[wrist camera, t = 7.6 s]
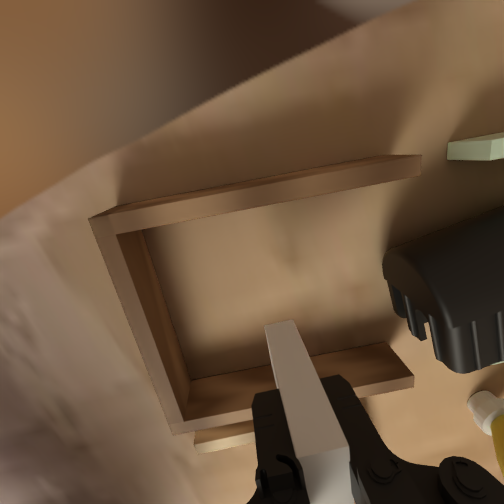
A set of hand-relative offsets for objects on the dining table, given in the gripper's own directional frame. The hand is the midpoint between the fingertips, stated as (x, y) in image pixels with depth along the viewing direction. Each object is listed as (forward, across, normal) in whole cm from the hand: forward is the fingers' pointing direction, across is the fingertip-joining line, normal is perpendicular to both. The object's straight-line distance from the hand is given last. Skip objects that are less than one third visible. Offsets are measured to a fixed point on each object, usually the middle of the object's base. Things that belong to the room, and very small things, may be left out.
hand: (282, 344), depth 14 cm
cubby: (+5, +1, 0) cm, 5 cm away
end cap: (+5, +13, 0) cm, 14 cm away
